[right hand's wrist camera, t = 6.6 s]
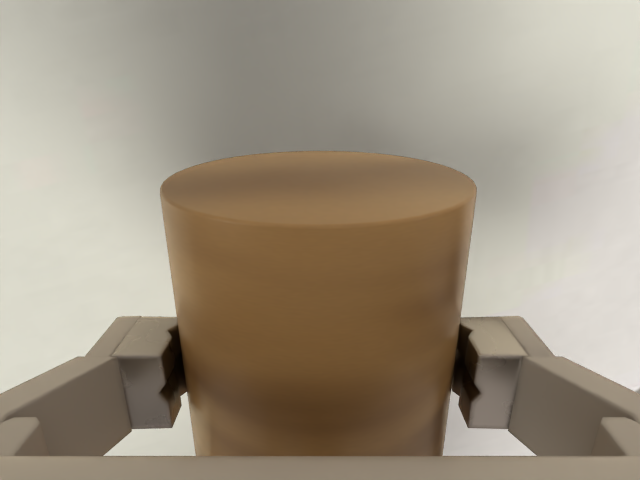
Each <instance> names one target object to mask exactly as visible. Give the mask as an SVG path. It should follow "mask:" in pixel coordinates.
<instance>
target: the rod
mask: <svg viewBox="0 0 640 480" xmlns="http://www.w3.org/2000/svg"><path fill="white" fill-rule="evenodd" d="M476 194H477V188H476V185H475V183H474V182H473V180H471V179H470V178H469V177H468V176H466V175H465V174H463V173H461V172H459V171H457V170H454V169H452V168H449V167H446V166H443V165H440V164H436V163H433V162H429V161H424V160H419V159H414V158H408V157H402V156H394V155H386V154H377V153H364V152H345V151H295V152H276V153H264V154H254V155H245V156H238V157H231V158H225V159H220V160H215V161H211V162H206V163H203V164H199V165H195V166H192V167H189V168H186V169H184V170H182V171H179V172H177V173H175V174H173V175H172V176H170V177H168V178H167V179H166V180H165V181H164V182H163V184H162V186H161V188H160V197H161V204H162V211H163V219H164V226H165V233H166V241H167V248H168V255H169V263H170V270H171V277H172V285H173V292H174V299H175V306H176V314H177V321H178V328H179V336H180V343H181V350H182V358H183V365H184V372H185V380H186V387H187V394H188V401H189V409H190V416H191V423H192V431H193V438H194V445H195V453H196V456H442V455H443V447H444V439H445V432H446V424H447V416H448V409H449V401H450V393H451V386H452V378H453V370H454V363H455V355H456V347H457V340H458V332H459V324H460V317H461V309H462V301H463V294H464V286H465V278H466V271H467V263H468V255H469V248H470V240H471V233H472V225H473V217H474V210H475V202H476Z"/></svg>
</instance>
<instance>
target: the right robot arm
mask: <svg viewBox="0 0 640 480" xmlns="http://www.w3.org/2000/svg"><path fill="white" fill-rule="evenodd" d="M451 388H452V391H453V392H455V393H456V394H457V395H459V396H460V397H459V408H460V410H461V412H462V415H463V417H464V420H465V422H466V424H467V427H468V428H490V429H508V431H509V432H510V433H511V434H512V435H514V436H515V437H516V438H517V439H518V440H519V441H521V442H522V443H523V444H524V445H525V446H526V447H528V448H529V449H530V450H531V451H532V452H533V453H534V454H536V455H537V456H103V455H104V454H106V453H107V452H108V451H109V450H110V449H111V448H113V447H114V446H115V445H116V444H117V443H118V442H120V441H121V440H122V439H123V438H124V437H125V436H127V435H128V434H129V433H130V432H131V431H132V429H149V428H172V427H173V424H174V422H175V420H176V417H177V415H178V412H179V410H180V408H181V398H180V396H181V395H183V394H184V393H185V392H187V387H186V380H185V372H184V365H183V358H182V350H181V343H180V336H179V328H178V321H177V317H148V316H143V317H142V316H122V317H117V318H116V320H115V321H114V322H113V323H112V324H111V326H110V327H109V328H108V329H107V330H106V332H105V333H104V334H103V335H102V336H101V338H100V339H99V340H98V341H97V342H96V344H95V345H94V346H93V347H92V348H91V350H90V351H89V352H88V353H87V354H86V356H85V357H76V358H74V359H72V360H70V361H68V362H66V363H63V364H61V365H59V366H57V367H55V368H53V369H51V370H49V371H47V372H45V373H43V374H41V375H39V376H36V377H34V378H32V379H30V380H28V381H26V382H24V383H22V384H20V385H18V386H16V387H14V388H12V389H10V390H7V391H5V392H3V393H1V394H0V480H640V394H638V393H636V392H634V391H632V390H630V389H628V388H626V387H624V386H622V385H620V384H618V383H616V382H614V381H612V380H610V379H607V378H605V377H603V376H601V375H599V374H597V373H595V372H593V371H591V370H589V369H587V368H585V367H583V366H581V365H579V364H576V363H574V362H572V361H570V360H568V359H566V358H564V357H555V356H554V355H553V353H552V352H551V351H550V350H549V349H548V347H547V346H546V345H545V344H544V343H543V341H542V340H541V339H540V338H539V337H538V335H537V334H536V333H535V332H534V331H533V329H532V328H531V327H530V326H529V325H528V323H527V322H526V321H525V320H524V319H523V318H522V317H520V316H503V317H464V318H460V324H459V332H458V340H457V347H456V355H455V363H454V370H453V378H452V386H451Z"/></svg>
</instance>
